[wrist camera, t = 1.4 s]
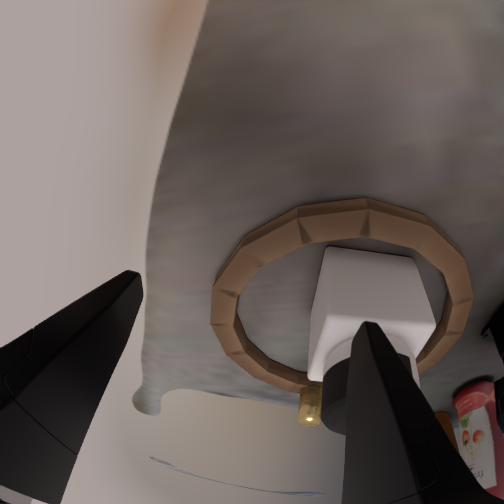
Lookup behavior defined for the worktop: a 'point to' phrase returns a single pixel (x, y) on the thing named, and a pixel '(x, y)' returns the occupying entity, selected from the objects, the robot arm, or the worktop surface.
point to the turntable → (328, 229)
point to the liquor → (481, 435)
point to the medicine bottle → (363, 318)
